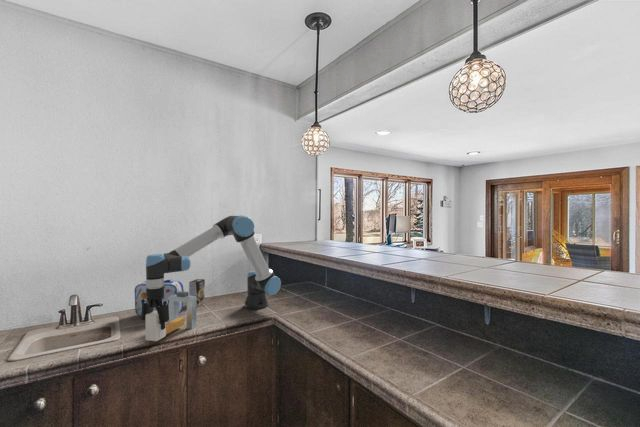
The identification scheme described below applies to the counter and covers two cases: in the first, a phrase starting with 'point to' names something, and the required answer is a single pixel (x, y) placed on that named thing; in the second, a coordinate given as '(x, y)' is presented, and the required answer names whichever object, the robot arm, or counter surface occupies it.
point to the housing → (191, 307)
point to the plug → (153, 326)
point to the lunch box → (169, 290)
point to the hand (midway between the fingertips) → (155, 335)
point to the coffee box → (197, 290)
